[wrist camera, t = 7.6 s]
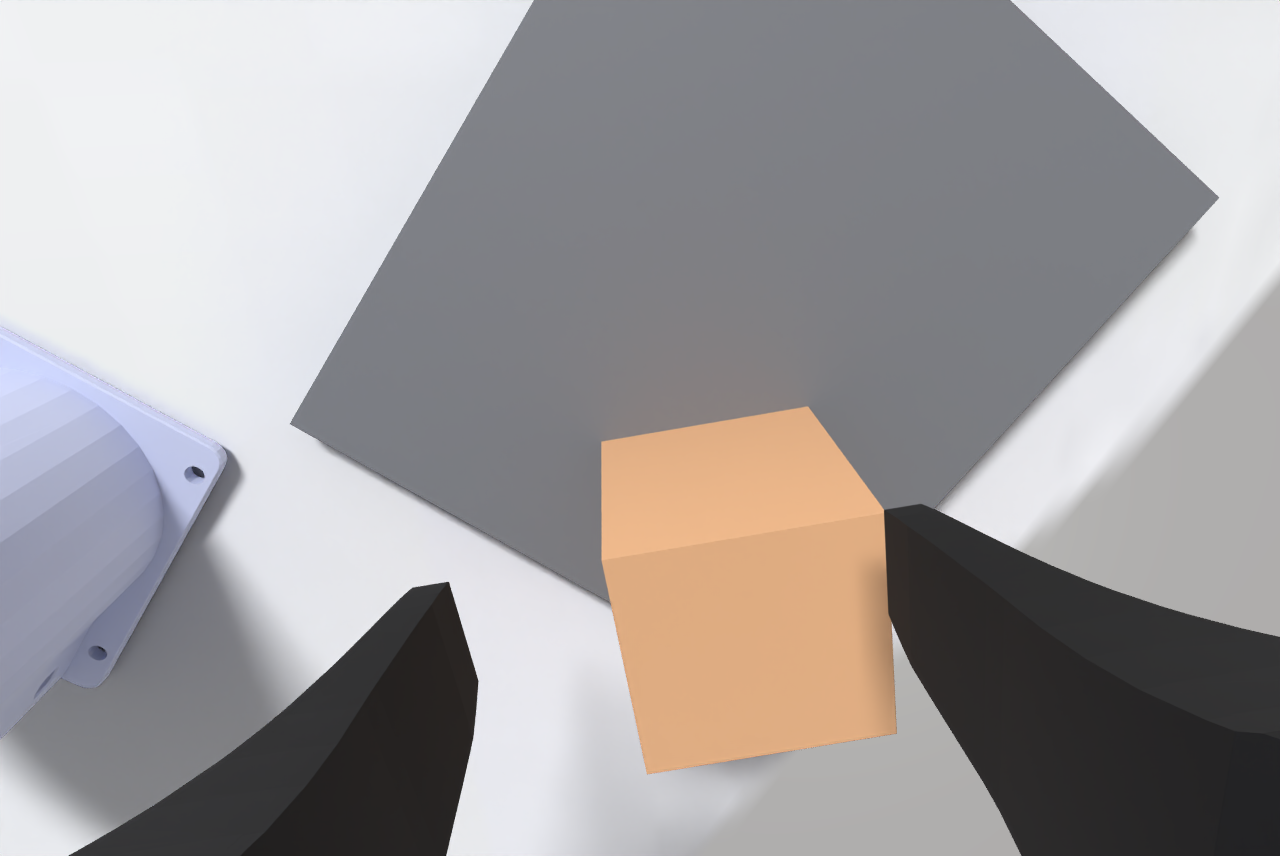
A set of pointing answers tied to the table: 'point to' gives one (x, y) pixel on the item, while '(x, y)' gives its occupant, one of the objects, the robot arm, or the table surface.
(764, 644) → the orange cube
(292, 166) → the table surface
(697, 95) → the duct panel
